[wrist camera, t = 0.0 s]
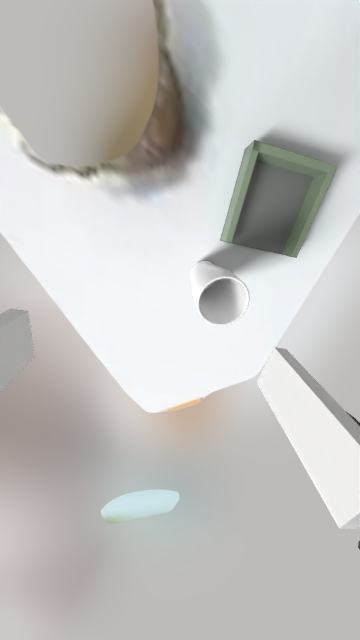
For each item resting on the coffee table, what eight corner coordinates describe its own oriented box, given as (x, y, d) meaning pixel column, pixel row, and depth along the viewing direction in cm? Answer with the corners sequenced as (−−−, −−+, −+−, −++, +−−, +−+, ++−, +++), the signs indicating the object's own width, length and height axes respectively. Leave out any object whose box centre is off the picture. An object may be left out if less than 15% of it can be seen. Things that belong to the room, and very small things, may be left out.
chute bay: (245, 149, 29) (254, 140, 26) (320, 171, 31) (337, 166, 28) (220, 240, 35) (225, 242, 31) (285, 255, 36) (296, 257, 33)
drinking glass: (181, 287, 38) (190, 321, 25) (190, 252, 35) (204, 269, 22) (214, 294, 39) (239, 330, 26) (225, 260, 36) (259, 281, 23)
